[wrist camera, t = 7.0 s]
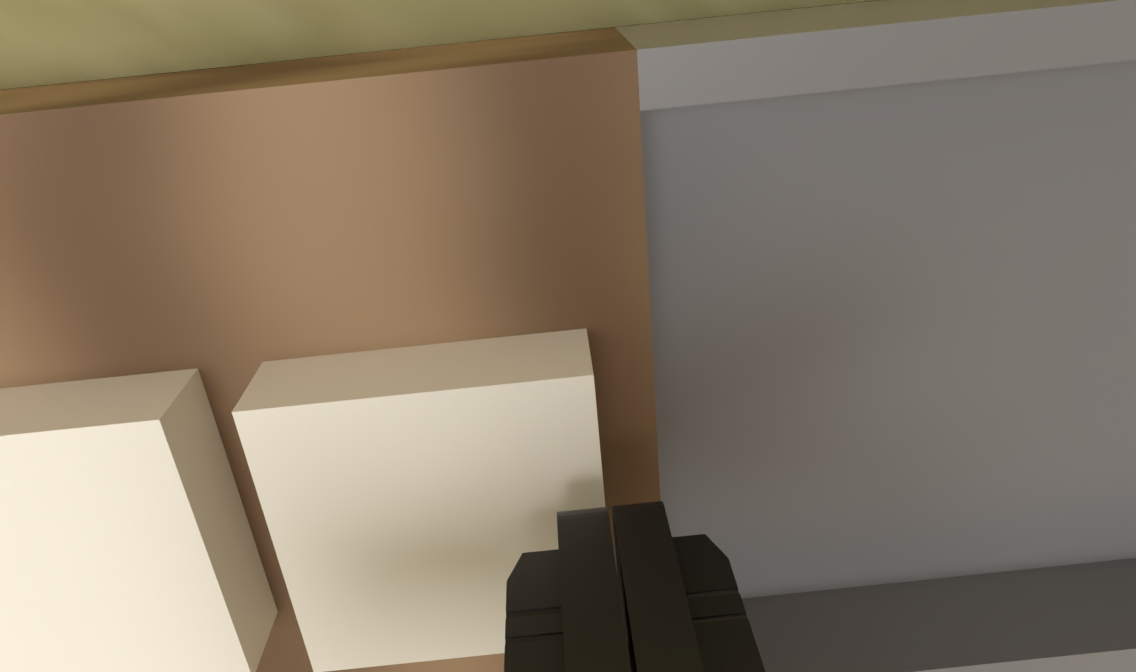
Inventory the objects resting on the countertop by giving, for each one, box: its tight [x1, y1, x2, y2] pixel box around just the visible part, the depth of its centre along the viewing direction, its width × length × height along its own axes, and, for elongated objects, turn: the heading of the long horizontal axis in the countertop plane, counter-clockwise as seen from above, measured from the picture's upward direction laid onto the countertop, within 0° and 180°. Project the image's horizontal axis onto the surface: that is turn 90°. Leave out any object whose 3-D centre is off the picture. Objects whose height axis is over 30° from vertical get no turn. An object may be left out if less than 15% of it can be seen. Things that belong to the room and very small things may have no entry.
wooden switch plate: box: [0, 27, 660, 672], centre depth 15 cm, size 14×13×3 cm
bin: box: [615, 0, 1136, 672], centre depth 15 cm, size 14×13×3 cm
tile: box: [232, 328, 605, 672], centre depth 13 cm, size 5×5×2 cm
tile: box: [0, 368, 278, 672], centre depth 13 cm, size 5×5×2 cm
